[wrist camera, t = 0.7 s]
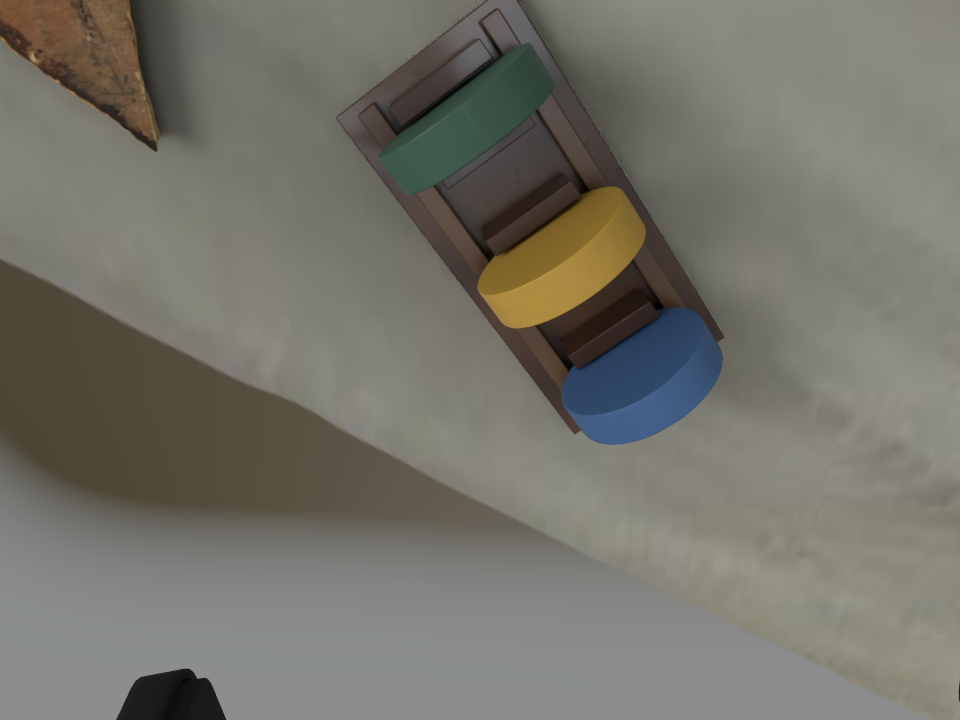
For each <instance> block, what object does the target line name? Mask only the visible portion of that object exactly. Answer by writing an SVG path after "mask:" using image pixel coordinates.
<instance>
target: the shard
mask: <svg viewBox="0 0 960 720" xmlns="http://www.w3.org/2000/svg"><path fill="white" fill-rule="evenodd" d="M0 39H1V40H2V41H4V42H5V43H6V44H7V45H8V46H9V47H10V48H11V49H12V50H13V51H15V52H16V53H18V54H19V55H21V56H22V57H23V58H25V59H26V60H28V61H29V62H31V63H32V64H33V65H34V66H35V67H37V68H38V69H39V70H40V71H41V72H43V73H44V74H45V75H47V76H48V77H49V78H51V79H52V80H54V81H55V82H57V83H59V84H60V85H61V86H62V87H63V88H65V89H66V90H68V91H70V92H71V93H73V94H74V95H75V96H77V97H78V98H80V99H81V100H83V101H84V102H85V103H87V104H89V105H91V106H92V107H94V108H95V109H97V110H98V111H100V112H101V113H103V114H106V115H108V116H109V117H111V118H112V119H113V120H114V121H116V122H118V123H119V124H120V125H121V126H122V127H124V128H125V129H127V130H128V131H129V132H130V133H131V134H132V135H133V136H134V137H135V138H136V139H137V140H138V141H140V142H142V143H144V144H145V145H147V146H148V147H149V148H151V149H152V150H154V151H155V152H157V151H158V149H157V139H160V136H161V135H160V131H159V128H158V126H157V124H156V121H155V116H154V108H153V106H152V103H151V100H150V97H149V95H148V93H147V90H146V88H145V86H144V81H143V77H142V71H141V68H140V66H139V60H138V56H137V53H138V52H137V44H138V43H137V37H136V33H135V28H134V24H133V21H132V17H131V14H130V3H129V0H0Z"/></svg>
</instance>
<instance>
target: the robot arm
mask: <svg viewBox="0 0 960 720" xmlns="http://www.w3.org/2000/svg"><path fill="white" fill-rule="evenodd" d="M959 701H960V684H959ZM116 720H226V718H225V715H224V713H223V711H222V708H221V706H220V703H219V701H218V699H217V696H216V694H215V691H214V689H213V687H212V685H211V683H210V681H209V680H208V679H207V678H200V679H197V677H196V676H195V674H194V672H193V671H191V670H190V669H181V670H175V671H170V672H165V673H159V674H155V675H149V676H144V677H140V678H139V679H138V680H136V681H135V683H134V684H133V686H132V688H131V689H130V691H129V694H128V696H127V698H126V700H125V703H124V705H123V707H122V709H121V711H120V713H119V715H118V717H117V719H116Z"/></svg>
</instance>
